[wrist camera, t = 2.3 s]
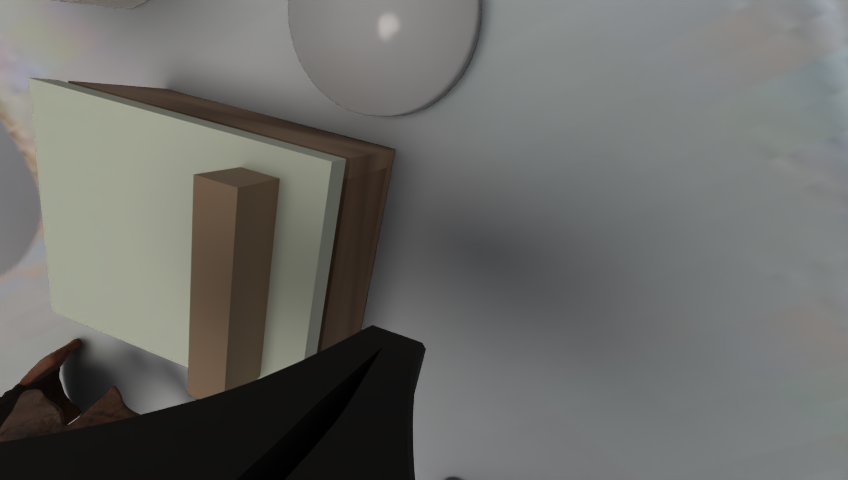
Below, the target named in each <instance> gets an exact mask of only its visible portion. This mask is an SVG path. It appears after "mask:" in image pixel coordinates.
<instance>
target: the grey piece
mask: <svg viewBox="0 0 848 480" xmlns="http://www.w3.org/2000/svg"><path fill="white" fill-rule="evenodd" d="M481 11H482V9H481V0H288V19H289V27H290V33H291V38H292V41H293V45H294V48H295V51H296V53H297V56H298V58H299V61H300V63H301V65H302V66H303V68H304V70H305V72H306V73H307V75H308V76H309V78H310V79H311V81H312V82H313V83H314V84H315V85H316V86H317V88H318V89H319V90H320V91H321V92H322V93H323V94H325V95H326V96H327V97H328V98H329V99H331V100H332V101H334V102H335V103H336V104H338V105H340V106H342V107H344V108H346V109H348V110H350V111H353V112H356V113H360V114H365V115H371V116H401V115H407V114H411V113H415V112H418V111H420V110H422V109H425V108H427V107H429V106H430V105H432V104H434V103H435V102H437V101H438V100H439V99H441V98H442V97H443V96H444V95H446V94H447V93H448V92H449V91H450V90H451V89H452V88H453V87H454V86H455V84H456V83H457V82H458V80H459V79H460V78H461V76H462V75H463V73H464V71H465V70H466V68H467V66H468V65H469V63H470V60H471V58H472V56H473V53H474V51H475V47H476V44H477V41H478V37H479V31H480V25H481Z"/></svg>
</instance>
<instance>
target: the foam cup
mask: <svg viewBox="0 0 848 480" xmlns="http://www.w3.org/2000/svg"><path fill="white" fill-rule="evenodd" d="M53 1H61V2H70V3H79V4H87V5H96V6H104V7H113V8H116V7H122V8H127V9H132V8H134V7H136V6H138V5H140V4H142V3H144V2H146V1H148V0H53Z"/></svg>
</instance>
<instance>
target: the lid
mask: <svg viewBox="0 0 848 480" xmlns="http://www.w3.org/2000/svg"><path fill="white" fill-rule="evenodd" d="M29 88H30V98H31V108H32V118H33V128H34V138H35V148H36V158H37V168H38V178H39V188H40V198H41V208H42V218H43V228H44V238H45V248H46V258H47V268H48V278H49V288H50V298H51V308H52V312H55V313H57V314H60V315H62V316H64V317H67V318H69V319H72V320H74V321H76V322H79V323H81V324H84V325H86V326H88V327H91V328H93V329H96V330H98V331H101V332H103V333H105V334H108V335H110V336H113V337H115V338H117V339H120V340H122V341H125V342H127V343H129V344H132V345H134V346H137V347H139V348H141V349H144V350H146V351H149V352H151V353H154V354H156V355H158V356H161V357H163V358H166V359H168V360H170V361H173V362H175V363H178V364H180V365H182V366H185V367H187V368H188V391H187V394H188V395H190V396H192V397H195V398H197V399H202V398H205V397H208V396H211V395H214V394H217V393H220V392H224V391H227V390H230V389H233V388H236V387H238V386H241V385H244V384H247V383H249V382H252V381H255V380H257V379H260V378H262V377H265V376H267V375H269V374H272V373H274V372H276V371H279V370H281V369H283V368H286V367H288V366H290V365H293V364H295V363H297V362H300V361H302V360H304V359H306V358H308V357H310V356H312V355H314V354H316V353H317V348H318V341H319V335H320V328H321V322H322V315H323V308H324V302H325V295H326V289H327V282H328V275H329V269H330V262H331V256H332V249H333V242H334V236H335V229H336V223H337V216H338V209H339V203H340V196H341V190H342V183H343V176H344V170H345V163H346V159H345V158H341V157H337V156H334V155H330V154H326V153H323V152H319V151H315V150H312V149H308V148H304V147H301V146H297V145H293V144H290V143H286V142H282V141H279V140H275V139H271V138H268V137H264V136H260V135H257V134H253V133H250V132H246V131H242V130H239V129H235V128H231V127H228V126H224V125H220V124H217V123H213V122H209V121H206V120H202V119H198V118H195V117H191V116H187V115H184V114H180V113H176V112H173V111H169V110H165V109H162V108H158V107H154V106H151V105H147V104H144V103H140V102H136V101H133V100H129V99H125V98H122V97H118V96H114V95H111V94H107V93H103V92H100V91H96V90H92V89H89V88H85V87H81V86H78V85H74V84H70V83H67V82H63V81H59V80H51V79H39V78H29Z"/></svg>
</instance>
